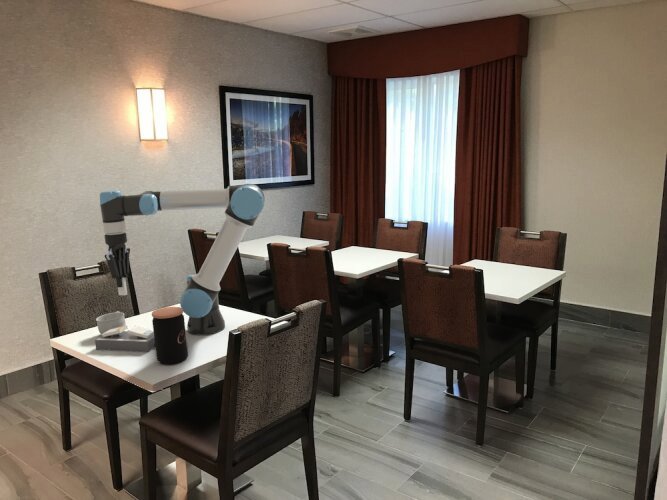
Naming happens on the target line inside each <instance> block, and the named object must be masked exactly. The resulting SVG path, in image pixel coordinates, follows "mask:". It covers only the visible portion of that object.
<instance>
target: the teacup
mask: <svg viewBox="0 0 667 500" xmlns="http://www.w3.org/2000/svg"><path fill="white" fill-rule="evenodd" d="M95 321H96V325H97V329H98V332H99V334H100V335H102V334H103V333H105V332H107V331H108V330H110V329H115V328H119V327H122V326H127V325H126V319H125V313H124V312H120V311H119V310H118V311H115V312H109V313H105V314H103V315H100V316H98V317H96V319H95Z"/></svg>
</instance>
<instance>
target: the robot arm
mask: <svg viewBox="0 0 667 500" xmlns="http://www.w3.org/2000/svg"><path fill="white" fill-rule="evenodd" d="M264 205H265V194H264V191H263V190H262V189H261V188H260V187H259V186H258V185H256V184H254V183H245V184H240V185H239V184H238V185H228V186H227V188H219V189H218V188H217V189H216V188H213V189H211V188H210V189H190V190H189V189H187V190H162V191H159V190H158V191H154V190H146V191H144V192H142V193H139V194H131V195H123V194H122V192H121V190H117V189H116V190H115V189H114V190H113V189H112V190H104V191H101V192H100V193H99V206H100V212H101V219H102V220H101V221H102V226H103V233H104V234H105V235H103V236H104V242H105V244H106V245H107V246H108V249H107V251H108V253H107V254H104V258H105V260H106V262H107V265H108V269H109V273H110V276H111V278H112V279H114V280H116V285H117V286H116V287H117V292H118V296H127V295H128V290H127V289H128V288H127V278H128V277H129V274H130V252H131V248H129V247H126V243H127V242H128V238H127V237H128V236H127V233H126V231H127V228H126V221H125V217H134V216H150V215H156V214H157V213H158V212H160V211H184V210H185V211H187V210H210V209H211V210H212V209H213V210H214V209H217V210H218V209H225V211H224V214H225V215H224V216H225V219H224V222H223V224H222V226H221V228H220V230H219V232H218V234H217V236H216V238H215V239H214V242H213V244H212V245H211V247H210V250H209V252H208V253H207V256H206V258H205V260H204V262H203V264H202V265H201V268H200V269H199V271H198V273H195V274H191V275H188V276H186V285H187V286H186V288H185V290H184V291H183V293H182V294H181V295H180V301H179V307H180V308H182V309H183V313H184V314H185V315H186V316H188V320H187V325H186V328H187V332H188V333H189V334H190V335H197V336H198V335H199V336H200V335H201V336H202V335H203V336H205V335H210V334H211V335H212V334H215V333H218V332H221V331H222V330H224V329H225V328H226V324H225V323H226V321H225V319H224V317H223V314H222V312H221V310H220V306H219V305H220V304H219V293H220V291H221V289H222V288H221V286H220V282H221V281H222V278H223V277H224V275H225V272H226V271H227V268H228V266H229V264H230V262H231V261H232V258H233V256H234V255H235V253H236V251H237V249H238V248H239V245H240V243H241V241H242V239H244V238H243V237H244V236H245V233H246V231H247V230H248V229H250V228H252V227H254V225H255V223H256V221H257V219H258V217H259V216H260V214H261V213H262V212H263V209H264Z"/></svg>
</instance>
